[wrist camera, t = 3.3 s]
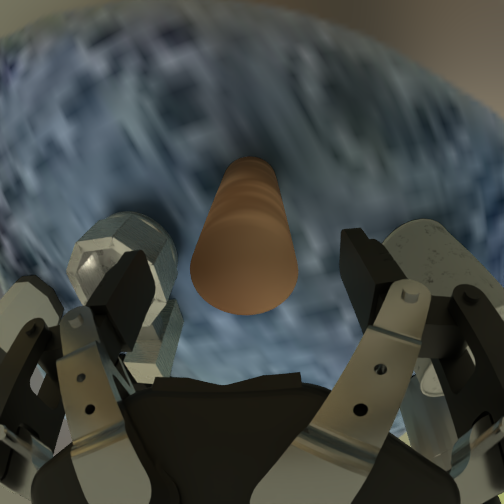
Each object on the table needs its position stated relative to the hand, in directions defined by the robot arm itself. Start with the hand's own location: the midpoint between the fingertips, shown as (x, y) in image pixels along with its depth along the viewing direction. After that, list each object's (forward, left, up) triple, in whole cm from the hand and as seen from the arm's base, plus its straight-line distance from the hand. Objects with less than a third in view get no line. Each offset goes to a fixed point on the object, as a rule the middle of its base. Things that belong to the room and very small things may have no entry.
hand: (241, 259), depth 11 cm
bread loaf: (0, 0, -11) cm, 11 cm away
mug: (+10, +7, -11) cm, 16 cm away
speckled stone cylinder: (-15, +9, -11) cm, 21 cm away
